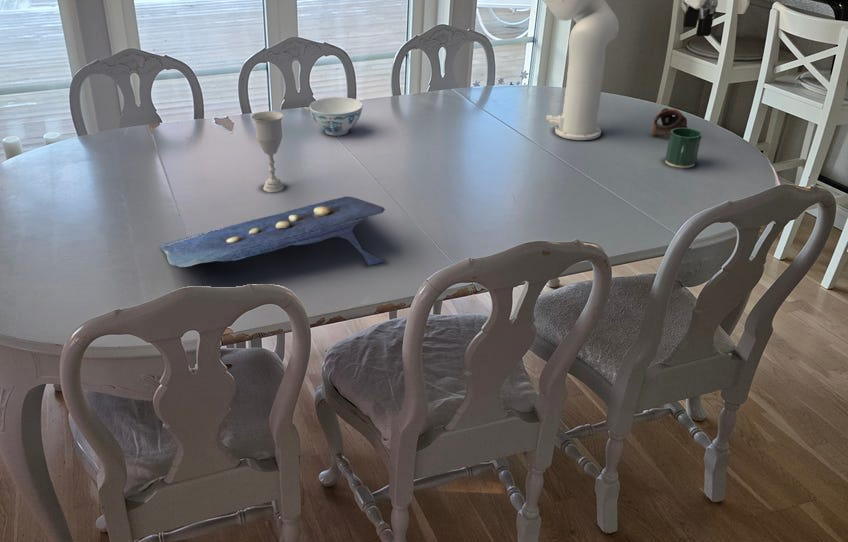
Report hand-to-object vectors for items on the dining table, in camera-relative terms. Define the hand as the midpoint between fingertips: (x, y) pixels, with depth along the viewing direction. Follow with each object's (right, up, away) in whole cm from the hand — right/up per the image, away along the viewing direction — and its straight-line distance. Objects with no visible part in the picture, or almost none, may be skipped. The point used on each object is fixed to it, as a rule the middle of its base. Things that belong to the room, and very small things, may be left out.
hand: (696, 31), depth 193 cm
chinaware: (-90, -18, +32) cm, 97 cm away
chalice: (-104, -39, -1) cm, 111 cm away
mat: (-101, -57, -29) cm, 119 cm away
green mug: (-1, -32, +7) cm, 32 cm away
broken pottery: (+3, -20, +26) cm, 33 cm away
